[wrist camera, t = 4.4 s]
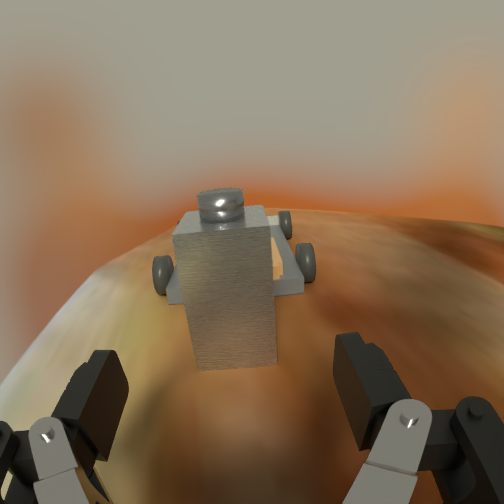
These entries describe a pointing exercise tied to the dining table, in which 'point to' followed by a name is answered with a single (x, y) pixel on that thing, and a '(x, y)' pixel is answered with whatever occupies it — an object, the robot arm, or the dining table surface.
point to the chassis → (284, 263)
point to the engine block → (227, 281)
